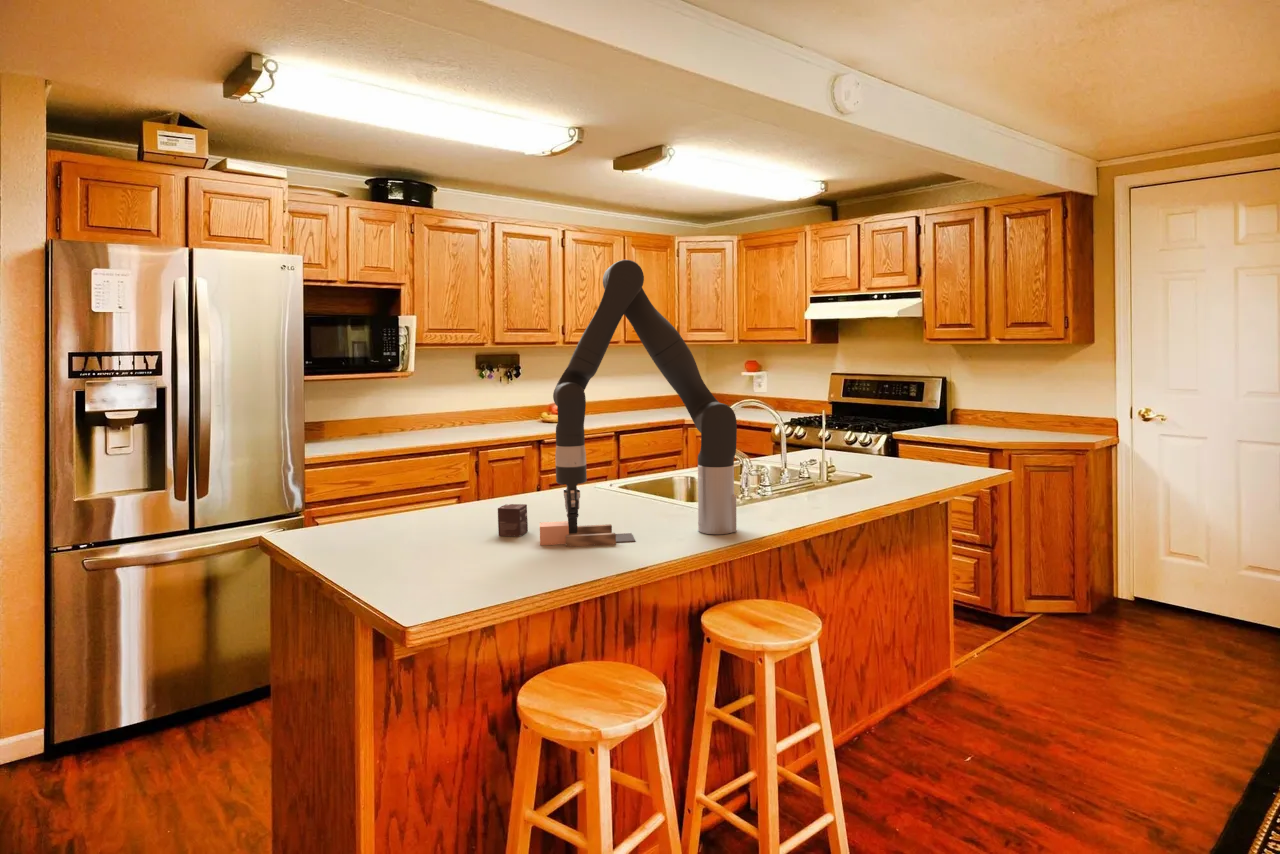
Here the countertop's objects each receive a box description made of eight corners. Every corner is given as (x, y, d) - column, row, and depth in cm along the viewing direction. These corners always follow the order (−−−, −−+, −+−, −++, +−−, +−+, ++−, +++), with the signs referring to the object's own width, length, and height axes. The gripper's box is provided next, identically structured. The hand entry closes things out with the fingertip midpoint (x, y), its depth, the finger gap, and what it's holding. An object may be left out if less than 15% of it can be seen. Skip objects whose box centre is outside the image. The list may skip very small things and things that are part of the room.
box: (520, 537, 193) (519, 508, 192) (497, 536, 194) (496, 508, 193) (528, 531, 199) (527, 504, 198) (506, 531, 200) (505, 503, 199)
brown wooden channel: (611, 533, 194) (611, 524, 194) (615, 544, 183) (615, 534, 183) (564, 536, 193) (564, 526, 192) (566, 546, 182) (565, 536, 182)
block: (568, 538, 190) (567, 521, 189) (569, 543, 185) (568, 525, 184) (540, 540, 189) (539, 522, 189) (540, 545, 184) (539, 526, 184)
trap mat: (631, 534, 193) (631, 533, 193) (635, 541, 186) (635, 540, 186) (611, 535, 193) (611, 534, 193) (615, 542, 185) (615, 541, 185)
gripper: (588, 466, 180) (590, 538, 181) (584, 459, 193) (586, 526, 194) (556, 468, 179) (558, 540, 180) (554, 460, 192) (556, 527, 193)
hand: (572, 532), depth 187 cm, fingers closed
